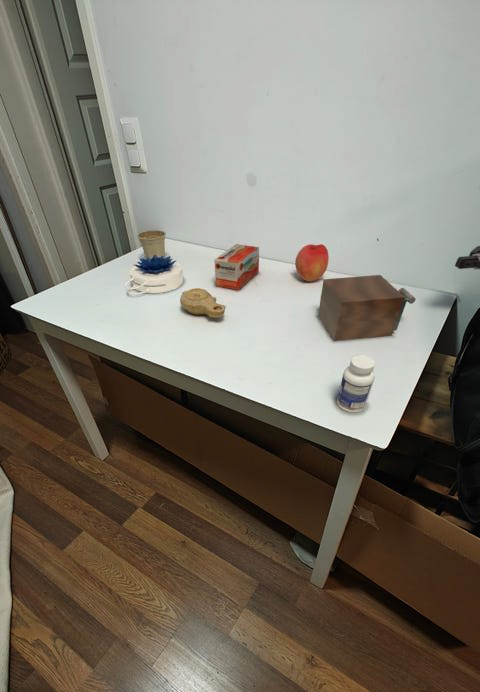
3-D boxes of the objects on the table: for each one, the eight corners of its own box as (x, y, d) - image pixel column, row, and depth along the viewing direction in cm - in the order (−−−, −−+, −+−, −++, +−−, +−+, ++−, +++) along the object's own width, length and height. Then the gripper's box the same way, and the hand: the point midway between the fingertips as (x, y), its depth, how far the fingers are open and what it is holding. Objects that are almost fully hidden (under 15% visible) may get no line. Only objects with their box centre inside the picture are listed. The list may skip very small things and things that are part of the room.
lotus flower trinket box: (152, 247, 109) (104, 267, 97) (191, 256, 103) (144, 279, 91) (156, 269, 114) (111, 291, 102) (193, 279, 108) (149, 304, 96)
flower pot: (148, 255, 123) (143, 229, 116) (173, 257, 121) (169, 230, 115) (138, 265, 116) (132, 238, 110) (164, 267, 115) (159, 239, 109)
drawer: (391, 307, 91) (401, 277, 85) (413, 328, 83) (425, 297, 77) (327, 313, 89) (332, 283, 83) (343, 335, 81) (350, 304, 76)
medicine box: (236, 268, 113) (236, 242, 107) (259, 272, 110) (259, 246, 105) (215, 286, 103) (213, 259, 98) (239, 291, 101) (238, 263, 95)
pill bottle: (343, 391, 68) (354, 349, 61) (369, 401, 66) (383, 359, 59) (331, 406, 65) (341, 363, 58) (358, 417, 63) (372, 374, 56)
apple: (323, 274, 109) (329, 240, 102) (326, 286, 102) (332, 251, 95) (293, 273, 110) (296, 239, 103) (293, 285, 103) (297, 250, 96)
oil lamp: (222, 326, 87) (221, 307, 83) (171, 318, 90) (168, 300, 86) (235, 307, 94) (235, 289, 90) (187, 301, 97) (185, 283, 93)
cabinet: (370, 311, 91) (380, 274, 84) (391, 335, 83) (405, 297, 76) (317, 315, 90) (323, 279, 83) (334, 341, 81) (342, 302, 74)
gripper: (514, 231, 82) (448, 236, 81) (558, 250, 73) (485, 256, 71) (498, 263, 88) (435, 268, 86) (537, 285, 79) (468, 291, 77)
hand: (458, 263), depth 79 cm, fingers closed
